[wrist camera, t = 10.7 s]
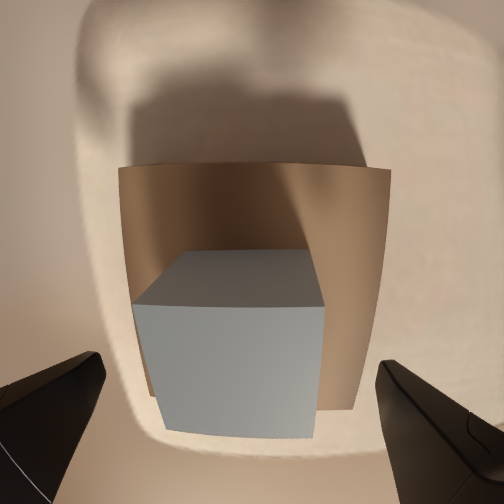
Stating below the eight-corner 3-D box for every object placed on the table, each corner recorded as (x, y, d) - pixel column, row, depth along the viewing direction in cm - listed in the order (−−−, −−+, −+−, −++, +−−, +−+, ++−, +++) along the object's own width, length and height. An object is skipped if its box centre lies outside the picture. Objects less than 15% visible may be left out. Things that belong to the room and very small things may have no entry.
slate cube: (309, 248, 12) (325, 306, 7) (306, 354, 14) (312, 438, 9) (184, 251, 13) (131, 304, 8) (198, 353, 14) (166, 429, 9)
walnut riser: (365, 166, 15) (391, 169, 11) (342, 365, 18) (352, 409, 14) (154, 164, 16) (118, 167, 12) (171, 356, 19) (150, 396, 15)
